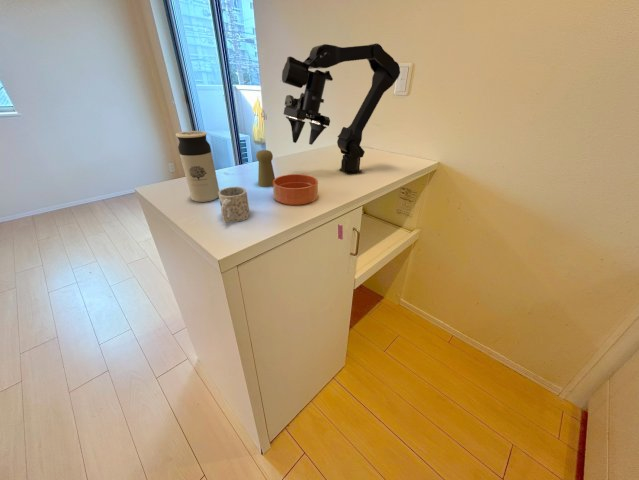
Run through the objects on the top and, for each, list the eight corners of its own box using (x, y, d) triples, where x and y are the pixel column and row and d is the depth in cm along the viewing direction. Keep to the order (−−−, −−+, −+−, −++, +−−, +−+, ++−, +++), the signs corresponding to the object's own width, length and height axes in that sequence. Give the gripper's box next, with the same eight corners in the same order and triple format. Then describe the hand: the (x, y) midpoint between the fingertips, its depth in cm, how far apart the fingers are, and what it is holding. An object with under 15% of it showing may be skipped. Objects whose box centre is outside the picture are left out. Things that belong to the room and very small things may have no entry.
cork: (279, 184, 88) (277, 150, 82) (264, 188, 84) (261, 153, 78) (269, 179, 91) (266, 147, 85) (254, 183, 88) (250, 150, 82)
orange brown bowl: (305, 186, 86) (305, 171, 83) (325, 200, 76) (325, 184, 73) (267, 193, 80) (266, 177, 78) (284, 209, 71) (282, 192, 68)
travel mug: (198, 192, 80) (183, 130, 71) (224, 192, 80) (212, 131, 71) (186, 202, 74) (168, 135, 64) (214, 202, 74) (199, 136, 64)
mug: (229, 209, 70) (225, 186, 66) (253, 211, 69) (250, 187, 66) (212, 227, 61) (206, 201, 58) (239, 229, 61) (235, 203, 57)
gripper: (310, 94, 92) (300, 139, 99) (275, 80, 77) (266, 134, 84) (336, 100, 88) (324, 147, 94) (303, 87, 72) (292, 144, 79)
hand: (302, 143), depth 88 cm, fingers open, 9 cm apart
